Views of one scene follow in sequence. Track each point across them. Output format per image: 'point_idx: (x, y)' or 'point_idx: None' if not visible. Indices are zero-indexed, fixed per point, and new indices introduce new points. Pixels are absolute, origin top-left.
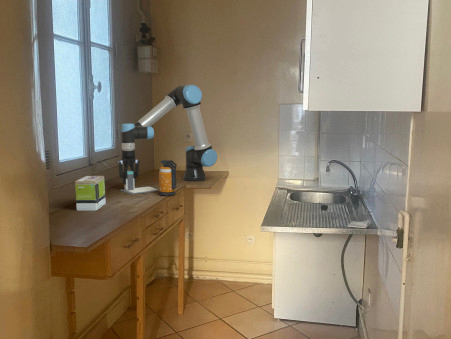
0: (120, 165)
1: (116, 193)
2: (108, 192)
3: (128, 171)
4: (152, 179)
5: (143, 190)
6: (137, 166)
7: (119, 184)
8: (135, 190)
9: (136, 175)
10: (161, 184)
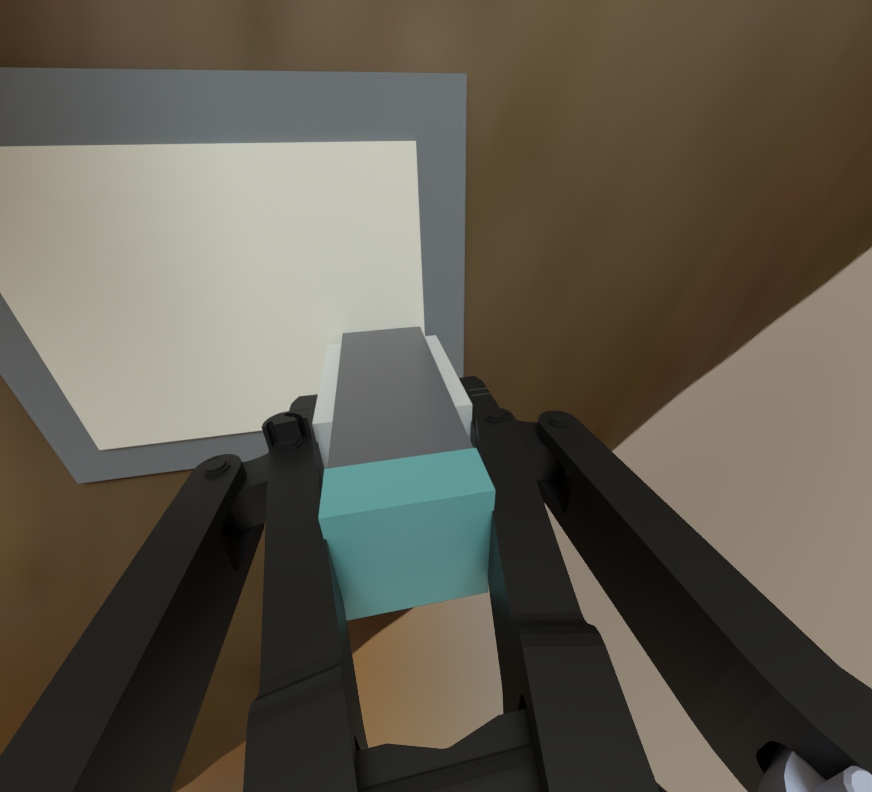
0: (854, 683)
1: (570, 283)
2: (594, 377)
3: (432, 552)
4: None
5: (217, 213)
6: (71, 742)
7: (361, 630)
8: (333, 281)
9: (241, 477)
10: None
